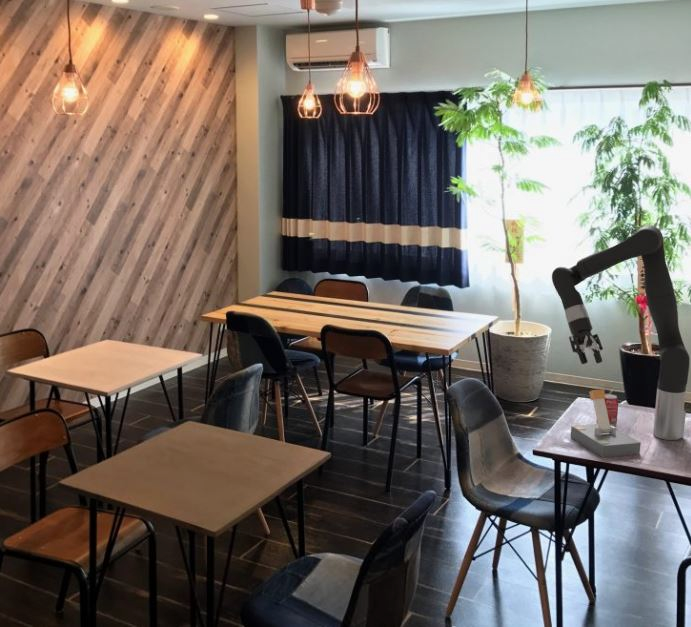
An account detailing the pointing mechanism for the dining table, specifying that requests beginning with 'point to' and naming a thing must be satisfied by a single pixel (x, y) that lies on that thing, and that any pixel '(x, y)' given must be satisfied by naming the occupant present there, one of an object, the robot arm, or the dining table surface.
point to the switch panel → (605, 441)
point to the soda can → (611, 408)
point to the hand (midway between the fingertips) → (592, 363)
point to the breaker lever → (600, 410)
